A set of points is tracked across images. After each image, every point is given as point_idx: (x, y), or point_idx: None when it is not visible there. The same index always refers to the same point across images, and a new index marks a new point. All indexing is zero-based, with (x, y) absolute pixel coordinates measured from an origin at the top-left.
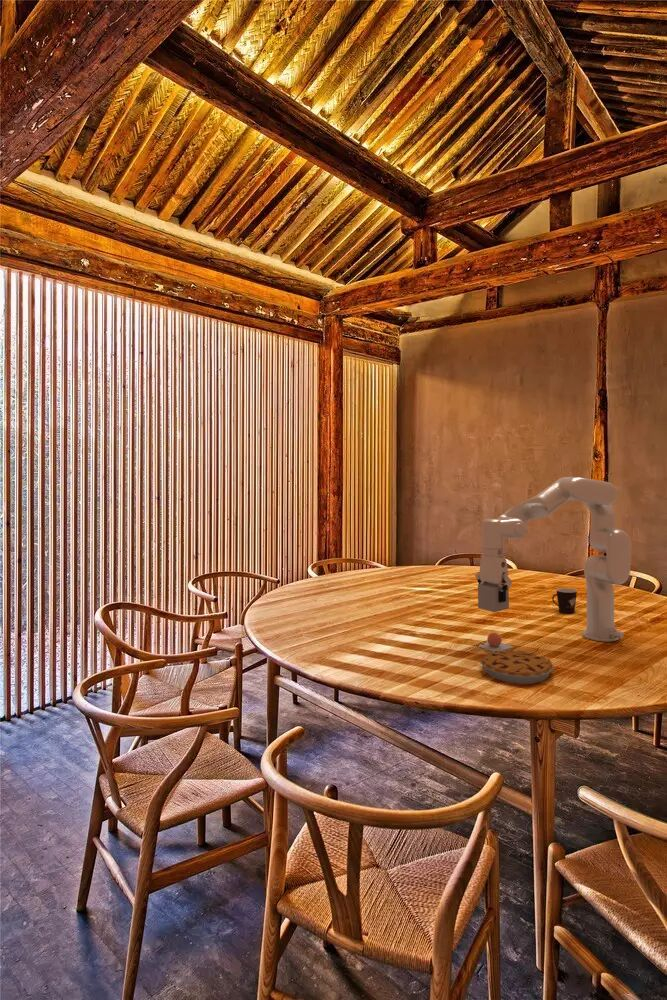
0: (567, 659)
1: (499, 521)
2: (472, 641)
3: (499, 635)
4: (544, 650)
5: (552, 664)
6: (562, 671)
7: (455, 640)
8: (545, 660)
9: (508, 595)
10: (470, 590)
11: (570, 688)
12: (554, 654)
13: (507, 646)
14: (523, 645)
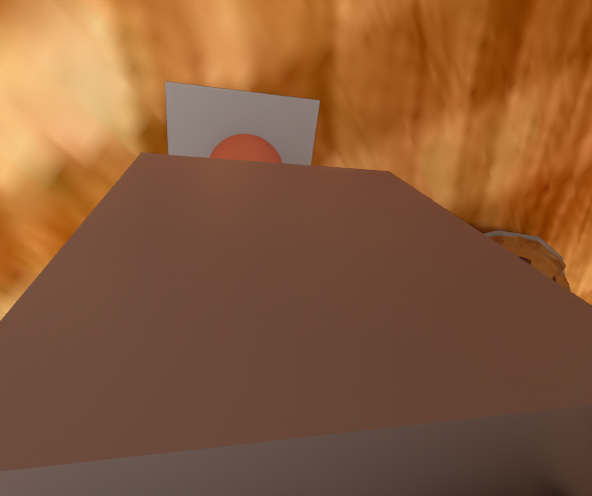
0: (566, 64)
1: None
2: (110, 184)
3: (269, 160)
4: (454, 15)
5: (562, 260)
6: (560, 204)
7: (46, 238)
8: (545, 265)
9: (488, 245)
10: None
11: (587, 290)
12: (508, 40)
13: (293, 121)
14: (337, 20)
